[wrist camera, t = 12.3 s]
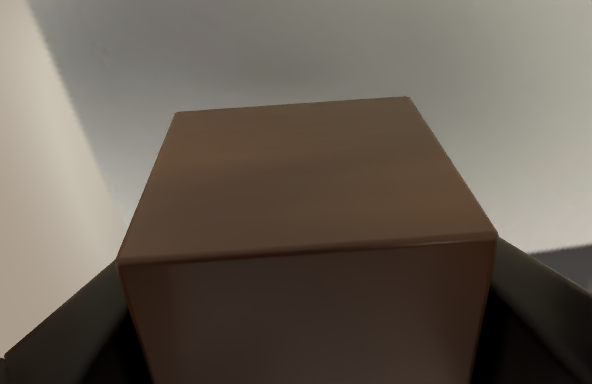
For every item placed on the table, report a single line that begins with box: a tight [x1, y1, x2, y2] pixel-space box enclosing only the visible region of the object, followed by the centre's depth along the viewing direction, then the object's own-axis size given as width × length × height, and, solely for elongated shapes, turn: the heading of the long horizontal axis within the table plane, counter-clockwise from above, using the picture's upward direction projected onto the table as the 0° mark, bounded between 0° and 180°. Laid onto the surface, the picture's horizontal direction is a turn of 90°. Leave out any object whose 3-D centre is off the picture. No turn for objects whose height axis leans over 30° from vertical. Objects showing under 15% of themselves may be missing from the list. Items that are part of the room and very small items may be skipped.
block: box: [115, 96, 499, 384], centre depth 8 cm, size 4×4×4 cm
